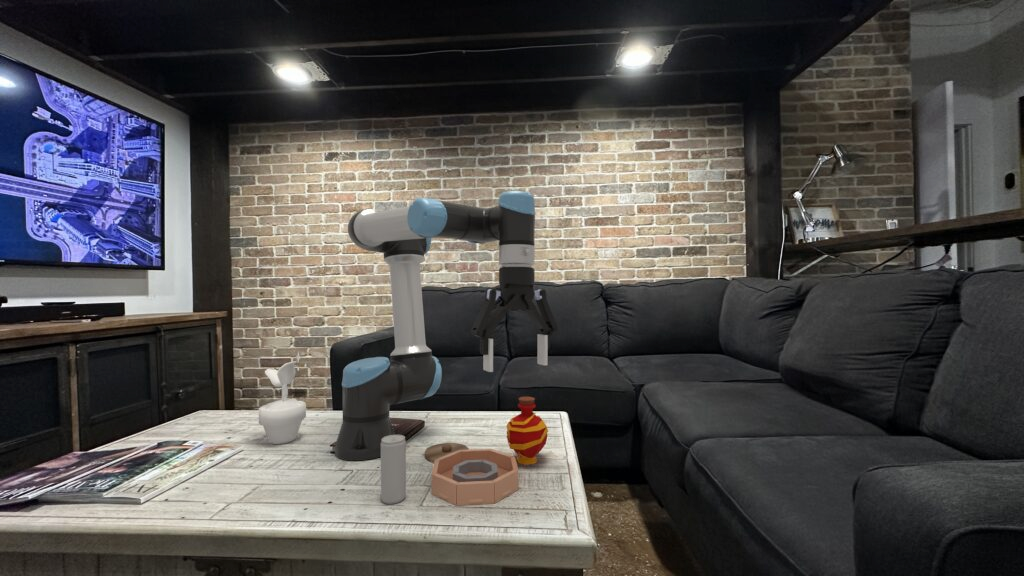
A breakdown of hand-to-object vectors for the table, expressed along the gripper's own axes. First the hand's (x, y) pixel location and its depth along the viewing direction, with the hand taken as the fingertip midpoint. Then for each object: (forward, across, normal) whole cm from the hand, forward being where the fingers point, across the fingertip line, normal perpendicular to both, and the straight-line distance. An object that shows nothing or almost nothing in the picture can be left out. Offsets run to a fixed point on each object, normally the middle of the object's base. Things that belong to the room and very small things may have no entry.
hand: (516, 367), depth 87 cm
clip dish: (+25, -6, +6) cm, 27 cm away
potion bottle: (+25, +10, +10) cm, 29 cm away
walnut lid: (+26, -5, +24) cm, 36 cm away
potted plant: (+26, -39, +60) cm, 76 cm away
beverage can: (+26, -23, +9) cm, 36 cm away
